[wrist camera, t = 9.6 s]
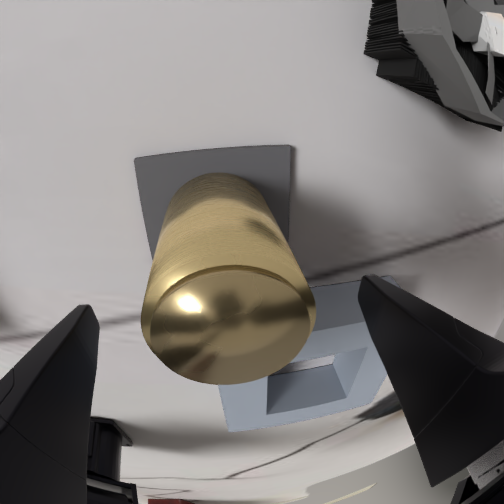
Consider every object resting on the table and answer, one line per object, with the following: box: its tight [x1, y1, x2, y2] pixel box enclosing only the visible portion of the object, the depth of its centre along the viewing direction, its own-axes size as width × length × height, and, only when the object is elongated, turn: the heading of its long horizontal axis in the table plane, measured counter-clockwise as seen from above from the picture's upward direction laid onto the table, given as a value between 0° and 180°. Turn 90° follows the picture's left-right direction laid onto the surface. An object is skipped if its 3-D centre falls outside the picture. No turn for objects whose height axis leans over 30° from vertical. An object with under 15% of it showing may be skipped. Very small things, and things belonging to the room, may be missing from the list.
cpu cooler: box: [364, 0, 504, 132], centre depth 8 cm, size 10×6×10 cm
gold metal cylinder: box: [141, 172, 316, 385], centre depth 11 cm, size 5×5×7 cm
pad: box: [134, 145, 291, 259], centre depth 14 cm, size 7×7×1 cm
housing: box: [218, 276, 400, 432], centre depth 19 cm, size 11×12×4 cm
